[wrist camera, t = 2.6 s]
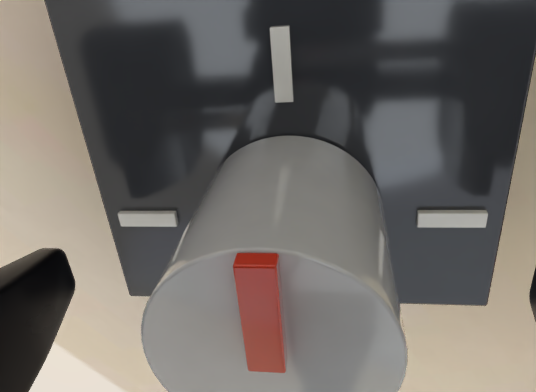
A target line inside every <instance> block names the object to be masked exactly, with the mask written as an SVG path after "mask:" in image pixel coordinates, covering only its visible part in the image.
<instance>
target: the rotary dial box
mask: <svg viewBox="0 0 536 392" xmlns="http://www.w3.org/2000/svg"><path fill="white" fill-rule="evenodd" d="M44 1H45V4H46V8H47V11H48V15H49V18H50V21H51V25H52V28H53V32H54V35H55V39H56V42H57V46H58V49H59V52H60V56H61V59H62V63H63V66H64V70H65V73H66V77H67V80H68V83H69V87H70V90H71V94H72V97H73V101H74V104H75V108H76V111H77V114H78V118H79V121H80V125H81V128H82V132H83V135H84V139H85V142H86V145H87V149H88V152H89V156H90V159H91V163H92V166H93V170H94V173H95V176H96V180H97V183H98V187H99V190H100V194H101V197H102V201H103V204H104V208H105V211H106V214H107V218H108V221H109V225H110V228H111V232H112V235H113V239H114V242H115V245H116V249H117V252H118V256H119V259H120V263H121V266H122V270H123V273H124V276H125V280H126V283H127V287H128V290H129V294H130V295H131V296H150V295H151V293H152V291H153V289H154V288H155V286H156V284H157V282H158V280H159V278H160V276H161V274H162V272H163V270H164V269H165V267H166V265H167V263H168V261H169V259H170V257H171V255H172V253H173V251H174V249H175V248H176V246H177V244H178V242H179V240H180V238H181V236H182V234H183V232H184V230H185V228H186V227H187V225H188V223H189V221H190V219H191V217H192V215H193V213H194V211H195V209H196V207H197V206H198V204H199V202H200V200H201V198H202V196H203V194H204V192H205V190H206V188H207V187H208V185H209V183H210V181H211V179H212V177H213V175H214V174H215V172H216V171H217V169H218V168H219V167H220V165H221V164H222V163H223V162H224V161H225V160H226V159H227V158H228V157H229V156H230V155H232V154H233V153H235V152H236V151H237V150H239V149H240V148H242V147H244V146H246V145H248V144H250V143H253V142H256V141H258V140H261V139H265V138H270V137H276V136H303V137H309V138H314V139H318V140H321V141H325V142H327V143H329V144H332V145H334V146H336V147H338V148H340V149H342V150H343V151H345V152H347V153H348V154H349V155H351V156H352V157H353V158H355V159H356V160H357V161H358V162H359V163H360V164H361V165H362V166H363V167H364V168H365V169H366V170H367V172H368V173H369V174H370V176H371V177H372V178H373V180H374V182H375V184H376V186H377V188H378V190H379V193H380V196H381V199H382V204H383V209H384V215H385V220H386V226H387V232H388V238H389V244H390V250H391V255H392V261H393V267H394V273H395V279H396V285H397V291H398V296H399V302H400V303H403V304H439V305H475V306H486V305H487V302H488V297H489V292H490V287H491V282H492V277H493V272H494V266H495V261H496V256H497V251H498V246H499V241H500V235H501V230H502V225H503V220H504V215H505V210H506V204H507V199H508V194H509V189H510V184H511V179H512V174H513V168H514V163H515V158H516V153H517V148H518V143H519V137H520V132H521V127H522V122H523V117H524V112H525V106H526V101H527V96H528V91H529V86H530V81H531V75H532V70H533V65H534V60H535V55H536V0H44Z"/></svg>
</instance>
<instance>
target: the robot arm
mask: <svg viewBox="0 0 536 392" xmlns="http://www.w3.org/2000/svg"><path fill="white" fill-rule="evenodd" d="M74 291H75V279H74V276H73V273H72V271H71V268H70V265H69V262H68V259H67V257H66V254H65V252H64V251H63V250H61V249H55V248H43V249H39V250H37V251H35V252H33V253H31V254H29V255H27V256H25V257H22V258H20V259H18V260H16V261H14V262H12V263H10V264H8V265H6V266H4V267H2V268H0V392H28V391H29V390H30V388H31V386H32V384H33V382H34V381H35V378H36V377H37V375H38V373H39V371H40V369H41V368H42V366H43V364H44V362H45V360H46V358H47V355H48V353H49V351H50V349H51V347H52V344H53V342H54V339H55V337H56V335H57V332H58V330H59V327H60V325H61V323H62V320H63V318H64V316H65V313H66V311H67V308H68V306H69V304H70V301H71V299H72V296H73V294H74ZM529 296H530V304H531V308H532V311H533V314H534V318H535V321H536V268H535V272H534V276H533V280H532V284H531V288H530V295H529Z"/></svg>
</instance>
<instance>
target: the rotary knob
mask: <svg viewBox="0 0 536 392" xmlns="http://www.w3.org/2000/svg"><path fill="white" fill-rule="evenodd" d="M141 335H142V344H143V349H144V353H145V356H146V358H147V361H148V363H149V365H150V367H151V369H152V371H153V373H154V374H155V376H156V377H157V379H158V380H159V381H160V383H161V384H162V385H163V386H164V388H165V389H166V390H167V391H168V392H398V390H399V389H400V387H401V384H402V382H403V379H404V376H405V373H406V368H407V363H408V349H407V343H406V337H405V331H404V326H403V320H402V314H401V308H400V302H399V296H398V291H397V285H396V279H395V273H394V267H393V261H392V255H391V250H390V244H389V238H388V232H387V226H386V220H385V215H384V209H383V204H382V199H381V196H380V193H379V190H378V188H377V186H376V184H375V182H374V180H373V178H372V177H371V176H370V174H369V173H368V172H367V170H366V169H365V168H364V167H363V166H362V165H361V164H360V163H359V162H358V161H357V160H356V159H355V158H353V157H352V156H351V155H349V154H348V153H347V152H345V151H343V150H342V149H340V148H338V147H336V146H334V145H332V144H329V143H327V142H325V141H321V140H318V139H314V138H309V137H303V136H276V137H270V138H265V139H261V140H258V141H256V142H253V143H250V144H248V145H246V146H244V147H242V148H240V149H239V150H237V151H236V152H235V153H233V154H232V155H230V156H229V157H228V158H227V159H226V160H225V161H224V162H223V163H222V164H221V165H220V167H219V168H218V169H217V171H216V172H215V174H214V175H213V177H212V179H211V181H210V183H209V185H208V187H207V188H206V190H205V192H204V194H203V196H202V198H201V200H200V202H199V204H198V206H197V207H196V209H195V211H194V213H193V215H192V217H191V219H190V221H189V223H188V225H187V227H186V228H185V230H184V232H183V234H182V236H181V238H180V240H179V242H178V244H177V246H176V248H175V249H174V251H173V253H172V255H171V257H170V259H169V261H168V263H167V265H166V267H165V269H164V270H163V272H162V274H161V276H160V278H159V280H158V282H157V284H156V286H155V288H154V289H153V291H152V293H151V295H150V297H149V299H148V301H147V303H146V306H145V309H144V312H143V317H142V324H141Z"/></svg>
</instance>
